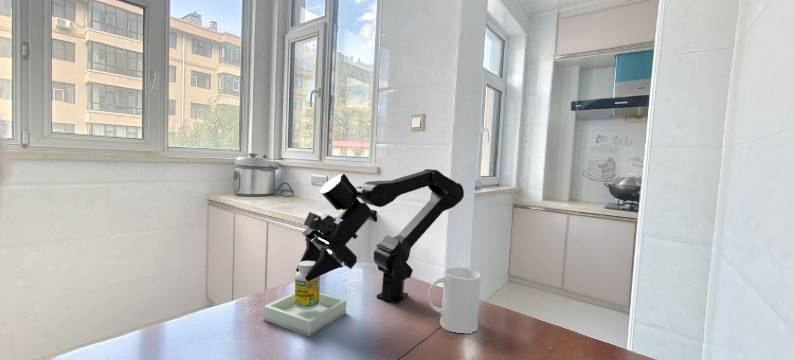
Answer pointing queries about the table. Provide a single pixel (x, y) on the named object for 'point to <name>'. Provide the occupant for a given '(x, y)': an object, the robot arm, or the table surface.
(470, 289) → the mug
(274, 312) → the tray
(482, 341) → the table surface
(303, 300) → the supplement bottle
